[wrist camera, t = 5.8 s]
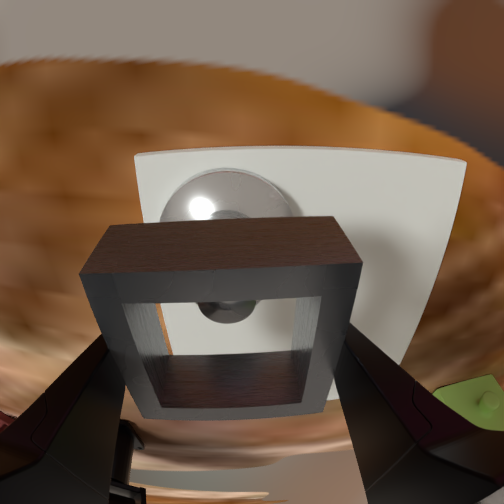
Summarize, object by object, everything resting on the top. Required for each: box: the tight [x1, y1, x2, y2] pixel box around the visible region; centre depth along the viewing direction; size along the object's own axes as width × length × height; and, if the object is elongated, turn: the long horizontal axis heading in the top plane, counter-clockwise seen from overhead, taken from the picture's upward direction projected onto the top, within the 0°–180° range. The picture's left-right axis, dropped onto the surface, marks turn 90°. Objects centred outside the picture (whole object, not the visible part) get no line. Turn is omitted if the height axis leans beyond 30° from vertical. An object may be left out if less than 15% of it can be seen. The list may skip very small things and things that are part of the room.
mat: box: [134, 146, 467, 400], centre depth 19 cm, size 20×17×1 cm
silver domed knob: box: [159, 167, 293, 324], centre depth 13 cm, size 6×6×5 cm
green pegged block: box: [433, 374, 504, 431], centre depth 25 cm, size 18×10×10 cm, turn 83°
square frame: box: [79, 216, 363, 420], centre depth 10 cm, size 7×7×2 cm
